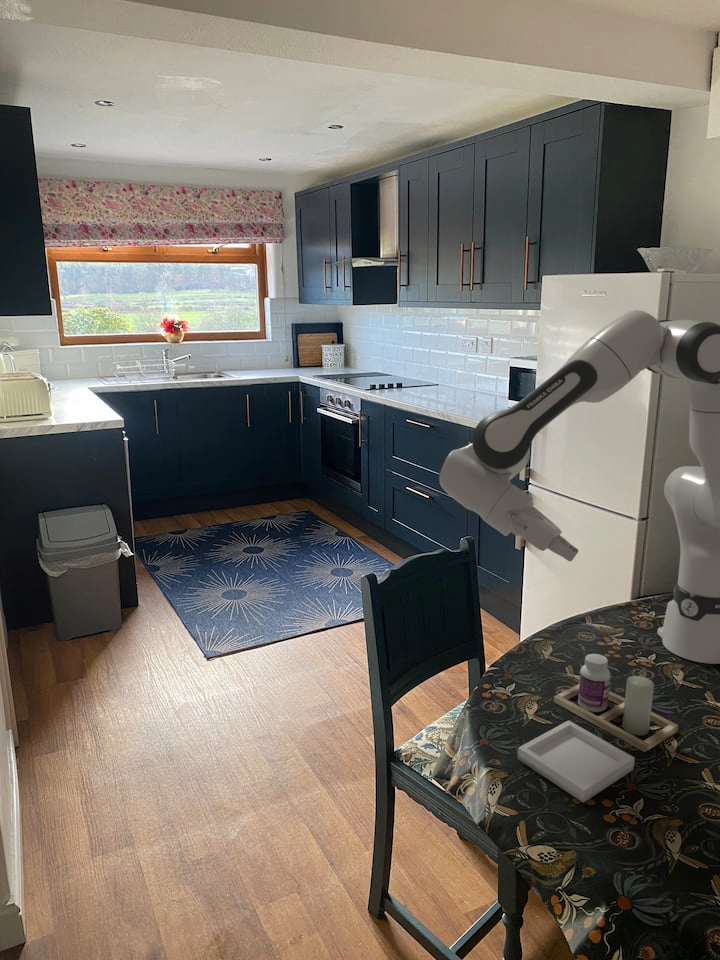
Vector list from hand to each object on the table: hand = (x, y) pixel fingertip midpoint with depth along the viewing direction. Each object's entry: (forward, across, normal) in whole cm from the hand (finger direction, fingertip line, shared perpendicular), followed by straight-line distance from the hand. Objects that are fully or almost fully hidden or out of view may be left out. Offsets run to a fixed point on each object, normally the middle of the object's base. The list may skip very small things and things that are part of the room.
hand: (575, 556), depth 130 cm
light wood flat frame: (+22, +3, +20) cm, 30 cm away
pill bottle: (+18, +5, +22) cm, 29 cm away
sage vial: (+26, 0, +19) cm, 32 cm away
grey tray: (+19, -13, +27) cm, 36 cm away
